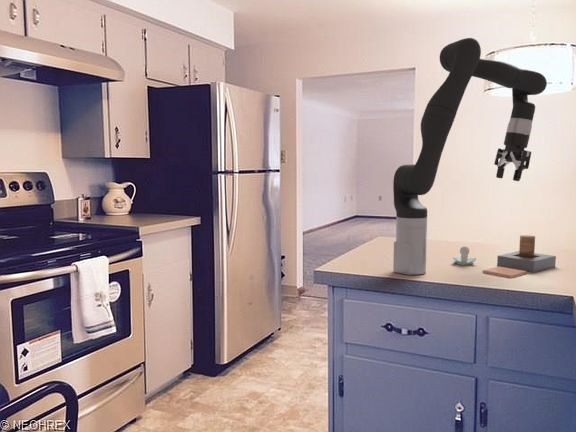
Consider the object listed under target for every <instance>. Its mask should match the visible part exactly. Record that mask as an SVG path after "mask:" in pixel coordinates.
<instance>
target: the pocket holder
mask: <svg viewBox="0 0 576 432" xmlns="http://www.w3.org/2000/svg"><path fill="white" fill-rule="evenodd" d="M556 257H557V256H556V255H551V254H545V253H536V252H534V258H525V257H519V250H518V251H512V252H507V253H503V254H499V255H497V261H496V262H497V263H496V267H498V266H499V267H505V268H511V269H517V270H523V271H527V272H530V273H536V272H537V271H538V272H541V271H545V270H548V269H551V268H554V267H556V259H557V258H556ZM544 269H545V270H544ZM540 270H541V271H540ZM538 272H537V273H538Z"/></svg>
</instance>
